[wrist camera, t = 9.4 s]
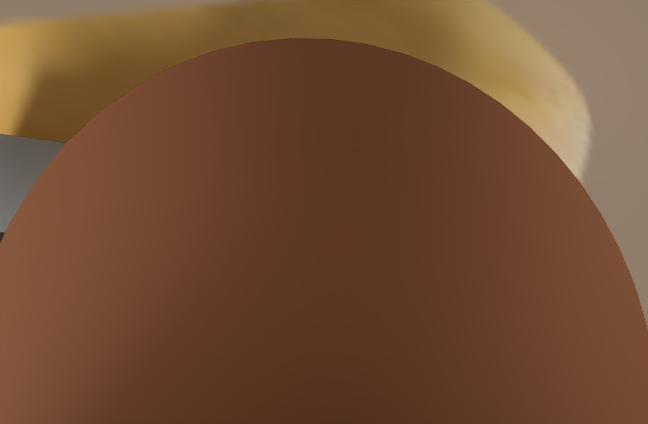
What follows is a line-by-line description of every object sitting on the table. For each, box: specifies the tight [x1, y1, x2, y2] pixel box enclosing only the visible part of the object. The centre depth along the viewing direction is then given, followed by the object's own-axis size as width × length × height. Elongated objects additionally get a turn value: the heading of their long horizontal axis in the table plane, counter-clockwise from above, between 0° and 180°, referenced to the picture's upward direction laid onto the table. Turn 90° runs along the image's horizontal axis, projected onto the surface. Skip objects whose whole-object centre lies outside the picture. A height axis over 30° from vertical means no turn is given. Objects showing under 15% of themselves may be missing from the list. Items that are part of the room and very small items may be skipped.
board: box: [0, 134, 66, 232], centre depth 15 cm, size 12×10×4 cm
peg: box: [0, 38, 648, 424], centre depth 10 cm, size 6×6×10 cm
